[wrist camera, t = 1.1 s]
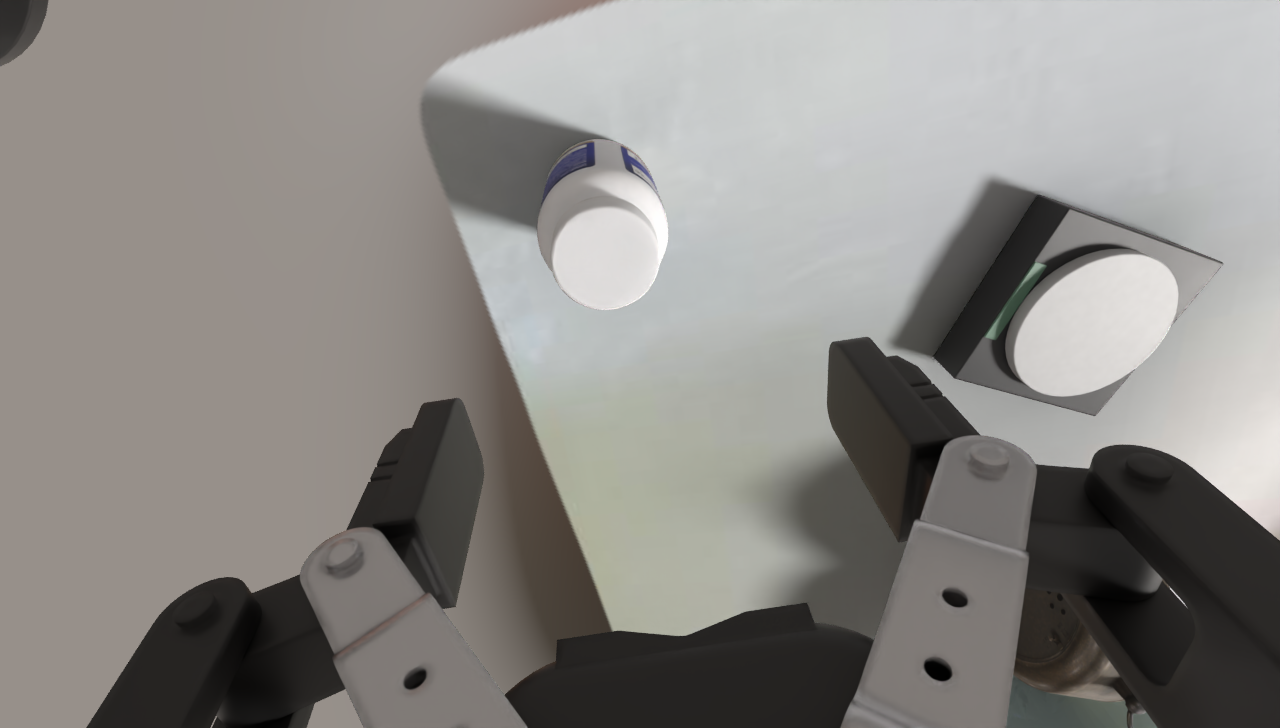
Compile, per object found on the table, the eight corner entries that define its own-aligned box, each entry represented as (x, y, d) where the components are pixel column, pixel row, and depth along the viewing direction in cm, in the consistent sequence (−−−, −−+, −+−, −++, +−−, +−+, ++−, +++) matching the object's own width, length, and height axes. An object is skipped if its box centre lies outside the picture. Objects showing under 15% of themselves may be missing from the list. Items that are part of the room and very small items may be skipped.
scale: (932, 357, 35) (961, 386, 33) (1037, 193, 31) (1081, 212, 28) (1067, 394, 37) (1105, 424, 35) (1185, 247, 33) (1239, 269, 30)
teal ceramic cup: (1058, 638, 51) (1176, 798, 41) (939, 660, 51) (1026, 824, 41) (1080, 559, 46) (1221, 719, 35) (947, 584, 46) (1049, 749, 36)
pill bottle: (545, 243, 30) (529, 322, 22) (546, 133, 27) (528, 181, 20) (649, 249, 31) (669, 329, 23) (660, 142, 28) (686, 192, 20)
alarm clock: (987, 576, 46) (1158, 823, 32) (925, 568, 45) (1074, 819, 31) (1072, 468, 41) (1320, 708, 27) (1004, 456, 40) (1225, 699, 26)
